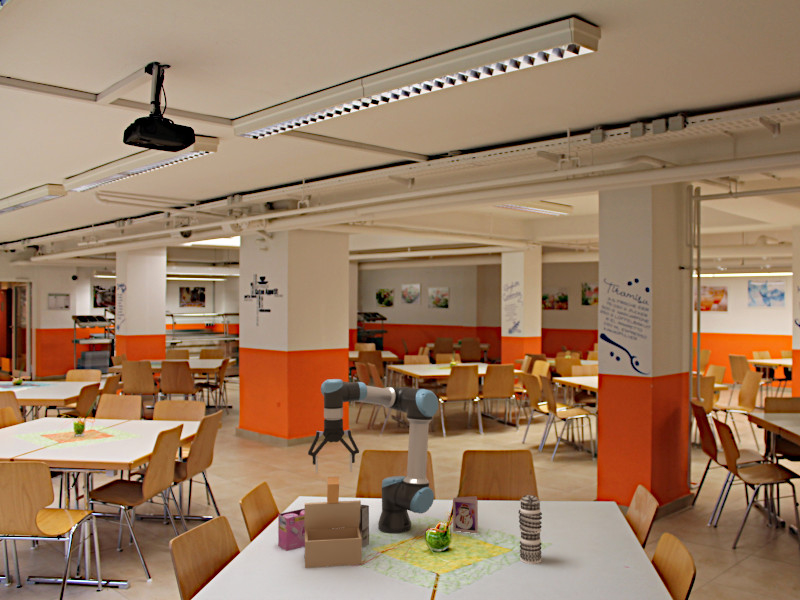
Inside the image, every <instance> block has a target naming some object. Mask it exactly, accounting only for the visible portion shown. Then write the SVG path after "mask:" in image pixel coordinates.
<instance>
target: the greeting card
mask: <svg viewBox="0 0 800 600" xmlns="http://www.w3.org/2000/svg"><path fill="white" fill-rule="evenodd" d="M452 503H453V504H452V507H453V508H452V515H453V517H452V523H453V524H452V526H453V527H452V528H453V532H456V531H461V532H460V533H463V532H470V533H469V534H471V533H478V534H479V526H478V525H479V522H478V521H479V520H478V519H479V516H478V514H479V512H478V509H479V506H478V495H477V496H476V495H475V496H460V497H459V496H457V497H453V498H452Z"/></svg>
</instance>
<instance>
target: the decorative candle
mask: <svg viewBox="0 0 800 600" xmlns="http://www.w3.org/2000/svg"><path fill="white" fill-rule="evenodd" d="M519 501H520V507H519V509H518V514H519V515H518V519H519V520H518V523H519V531H520V536H519V537H520V541H519V548H520V549H519V560H520V562H522V563H524V562H525V564H528V563H529V565H535V564H536V563H537V564H540V563H541V562H542V553H543V552H542V542H541V540H542V539H541V532H542V521H541V520H542V519H543V517H542V515H543V513H542V512H541V507H540V506H541V500H540V499H539V498H538V496H536V495H532V494H525V495H523V496H522V497H521V498H520V499H519ZM539 562H540V563H539ZM530 563H531V564H530ZM537 564H536V565H537Z"/></svg>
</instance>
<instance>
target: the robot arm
mask: <svg viewBox="0 0 800 600" xmlns="http://www.w3.org/2000/svg"><path fill="white" fill-rule="evenodd" d="M320 386H321V387H320V392H321V395H322V396H323V418H324V420H323V428H324V429H323V431H319V430H316V433H315V437H314V439H313V441H312V443H311V446H310V447H309V448H308V449H309V450H308V452H307V454H308V456H311V457H312V465H313V466H315V474H318V473H319V472H318V471H319V470H318V467H319V466H318V465H319V464H318V461H319V460H318V459H319V457H318V454H319V453H320V451H321V450H322V448H323V447H325V445H326V444H327V443H338V442H340V443H342V445H343V446H344V447H345V448H346V450H347V451H348V452H349V453H350V454H349V472H350V473H353V464H355V463H356V458H355V457H356V454H359V453H360V449H359V448H358V446H357V444H356V442H355V440H354V438H353V437H352V436H353V435H352V432H351V430H350V429H346V430H344V419H343V418H344V403H348V402H358V403H365V404H370V405H371V404H372V405H380V406H383V407H384V408H385V409H391V410H395V411H398V412H401V413H403V414H404V413H405V414H406V419H407V421H408V422H409V428H408V429H409V431H408V432H409V433H408V450H407V451H408V452H407V466H406V467H407V468H406V469H407V470H406V476H404V475H397V476H396V475H395V476H388V477H385V478H384V479H382V481H381V513H380V516H379V519H378V521H377V522H378V523H377V525H378V526H377V529H378V530H379V531H381V532H384V533H387V534H402V533H406V532H409V531H410V530H411V529H412V522H411V519H410V516H409V513H408V512H409V511H410V512H412V513H414V514H425V513H427V512H428V511H429V510H430V508H431V507H432V505H433V503H434V500H435V493H434V491H433V489H432V488H430V480H429V479H428V478H427V464H428V446H429V444H428V442H429V429H430V428H429V425H430V423H431V421H433V417H434V416H435V415H436V414H437V412H438V411H439V399H438V397H437V395H436V394H435V393H434V392H433V390H430V389H426V388H417V387H415V388H414V387H408V386H407V387H403V386H402V387H392V386H386V387H379V386H371V385H366V383H365V382H362V381H356V382H351V381H350V382H349V381H343V380H342V379H339V378H333V379H329V378H328V379H326V380H324V381H323V382H322V384H321V385H320ZM322 435H323V437H324V438H323V440H322V442H320V443H319V445H318V446H317V447H316V445H317V443H318V440H319V439H320V438H321V437H322ZM344 435H345V436H347V437H348V439H349V441H350V443H351V444H352V447H353V449H354V450H353V449H352V447H351V446H350V445H349V444H348V442H347V441H345V439H344V438H343V437H344ZM315 447H316V449H315ZM314 449H315V450H314Z"/></svg>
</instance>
